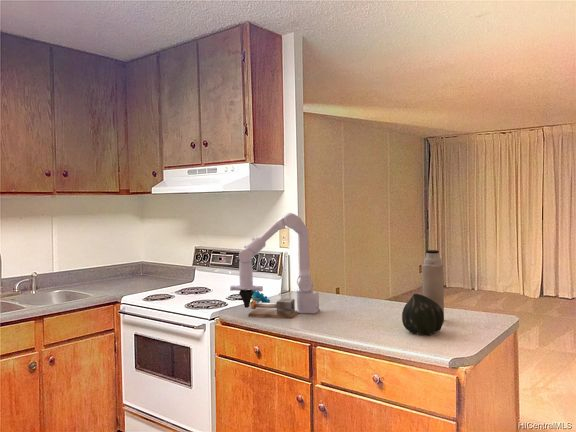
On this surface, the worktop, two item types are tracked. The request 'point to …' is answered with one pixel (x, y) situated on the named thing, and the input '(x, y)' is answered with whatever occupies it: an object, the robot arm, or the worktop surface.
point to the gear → (260, 297)
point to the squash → (422, 315)
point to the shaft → (263, 305)
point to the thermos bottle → (433, 278)
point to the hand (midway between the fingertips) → (247, 307)
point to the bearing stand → (283, 310)
